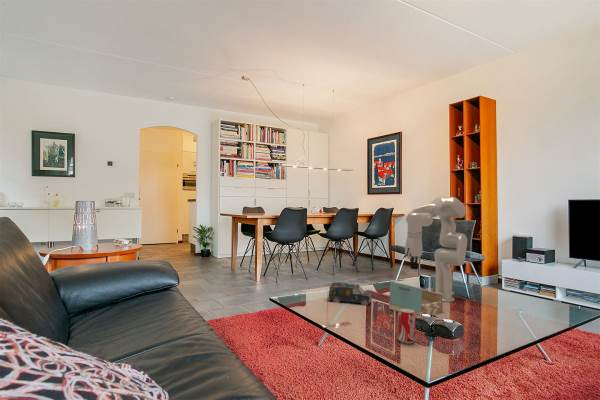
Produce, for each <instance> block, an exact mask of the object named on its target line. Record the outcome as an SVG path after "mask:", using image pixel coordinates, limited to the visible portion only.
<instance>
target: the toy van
mask: <svg viewBox="0 0 600 400" xmlns="http://www.w3.org/2000/svg"><path fill="white" fill-rule="evenodd" d="M371 296H372V293H371V291H370V290H364V289H363V288H362V287H361V285H360V284H354V283H348V282H331V284H330V286H329V289H328V297H327V299H328V300H330V301H333V303H336V302H338V303H337V304H339V303H340V302H351V303H360V304H361V306H369V304H370V303H371V302H372V301H371V300H372V297H371Z"/></svg>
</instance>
